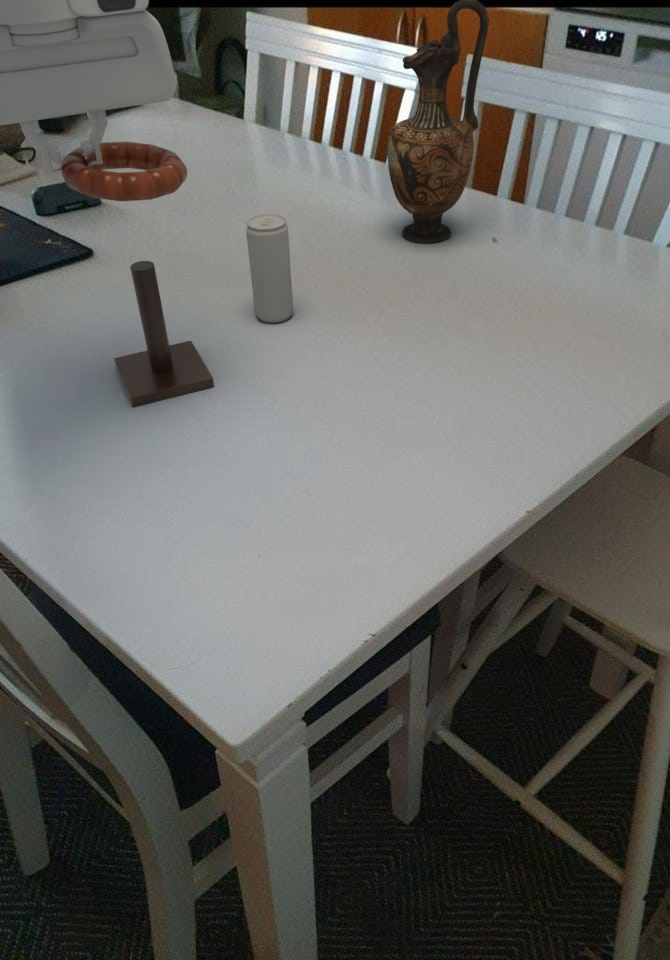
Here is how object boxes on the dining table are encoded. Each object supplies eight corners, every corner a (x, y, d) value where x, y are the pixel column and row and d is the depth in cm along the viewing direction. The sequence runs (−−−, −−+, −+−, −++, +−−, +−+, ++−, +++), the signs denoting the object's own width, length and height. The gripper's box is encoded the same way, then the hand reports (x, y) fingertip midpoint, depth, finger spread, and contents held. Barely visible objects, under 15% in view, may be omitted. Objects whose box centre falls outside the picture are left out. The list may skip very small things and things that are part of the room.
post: (132, 407, 86) (106, 293, 77) (115, 367, 92) (89, 257, 84) (214, 387, 88) (197, 274, 80) (192, 349, 95) (174, 241, 86)
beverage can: (251, 323, 99) (240, 228, 91) (260, 305, 103) (251, 212, 95) (289, 325, 98) (282, 230, 91) (297, 307, 102) (291, 213, 94)
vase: (396, 216, 124) (400, -11, 104) (477, 222, 121) (496, -10, 102) (378, 247, 115) (378, 6, 96) (465, 255, 112) (483, 8, 93)
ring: (73, 208, 70) (69, 180, 69) (55, 166, 78) (51, 141, 77) (199, 200, 74) (198, 173, 72) (170, 161, 82) (169, 136, 80)
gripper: (-107, 11, 59) (-44, 198, 68) (165, -18, 65) (191, 158, 74) (-107, -2, 64) (-48, 175, 73) (148, -28, 70) (174, 139, 78)
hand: (74, 166), depth 73 cm, fingers closed on ring, 2 cm apart
